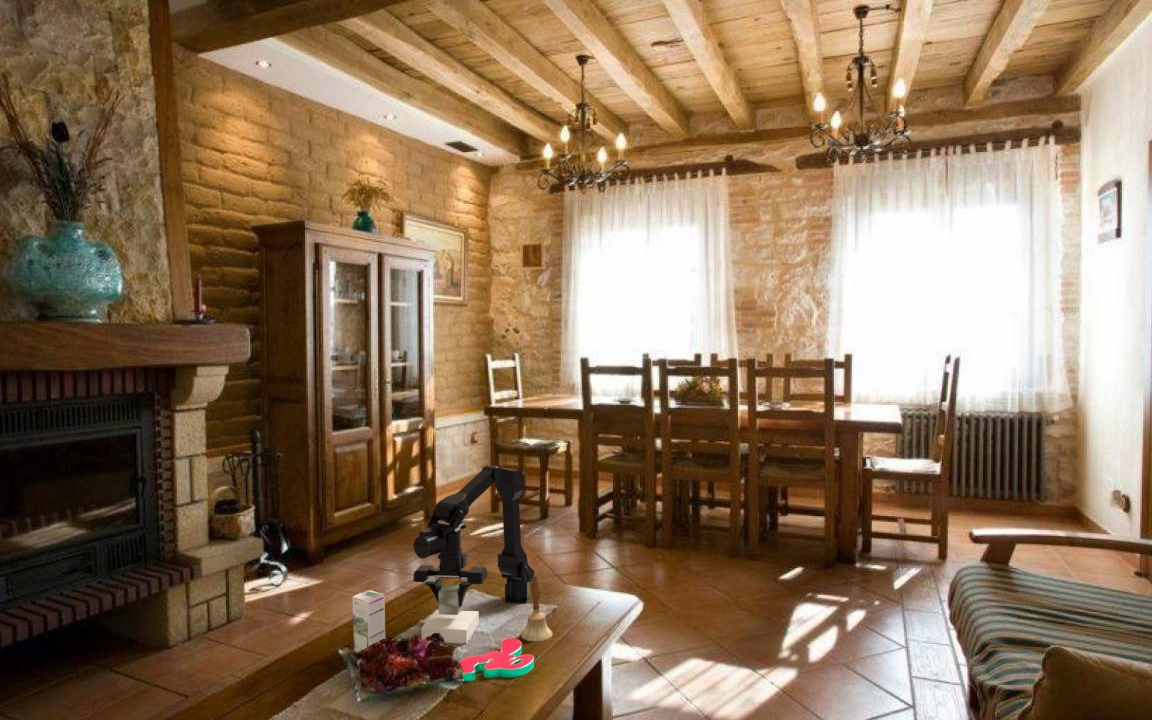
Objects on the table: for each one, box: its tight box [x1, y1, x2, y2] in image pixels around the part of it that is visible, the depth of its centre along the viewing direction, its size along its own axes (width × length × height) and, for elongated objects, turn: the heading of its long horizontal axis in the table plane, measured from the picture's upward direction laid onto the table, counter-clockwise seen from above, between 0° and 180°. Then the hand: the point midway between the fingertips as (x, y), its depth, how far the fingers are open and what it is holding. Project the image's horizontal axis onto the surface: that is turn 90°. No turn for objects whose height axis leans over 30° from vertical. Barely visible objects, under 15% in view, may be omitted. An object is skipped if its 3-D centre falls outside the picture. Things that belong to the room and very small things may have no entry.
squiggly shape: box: [458, 637, 535, 682], centre depth 166 cm, size 20×16×2 cm
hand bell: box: [520, 574, 553, 643], centre depth 182 cm, size 8×8×16 cm
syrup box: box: [352, 589, 386, 653], centre depth 173 cm, size 6×6×14 cm
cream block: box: [420, 609, 480, 644], centre depth 184 cm, size 12×12×4 cm
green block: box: [438, 584, 464, 615], centre depth 184 cm, size 5×5×6 cm
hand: (450, 606), depth 184 cm, fingers closed on green block, 5 cm apart
